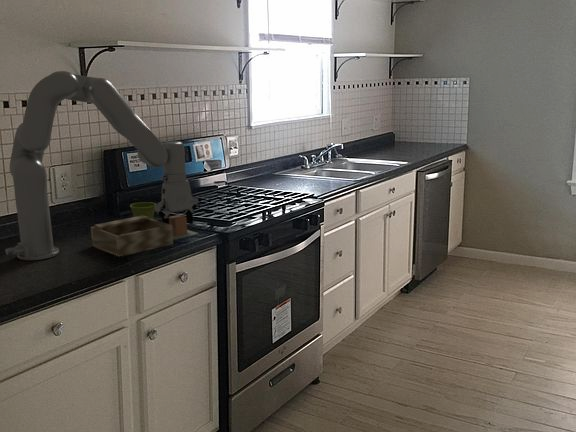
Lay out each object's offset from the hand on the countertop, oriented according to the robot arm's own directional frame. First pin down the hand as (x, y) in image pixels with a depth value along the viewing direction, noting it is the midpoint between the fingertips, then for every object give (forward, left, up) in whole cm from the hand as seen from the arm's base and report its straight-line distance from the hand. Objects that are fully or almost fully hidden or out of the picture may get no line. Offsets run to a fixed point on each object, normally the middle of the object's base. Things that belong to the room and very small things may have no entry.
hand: (178, 226), depth 228 cm
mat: (0, 0, -3) cm, 3 cm away
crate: (-18, 0, -3) cm, 18 cm away
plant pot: (-3, +18, -3) cm, 19 cm away
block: (0, 0, -3) cm, 3 cm away
